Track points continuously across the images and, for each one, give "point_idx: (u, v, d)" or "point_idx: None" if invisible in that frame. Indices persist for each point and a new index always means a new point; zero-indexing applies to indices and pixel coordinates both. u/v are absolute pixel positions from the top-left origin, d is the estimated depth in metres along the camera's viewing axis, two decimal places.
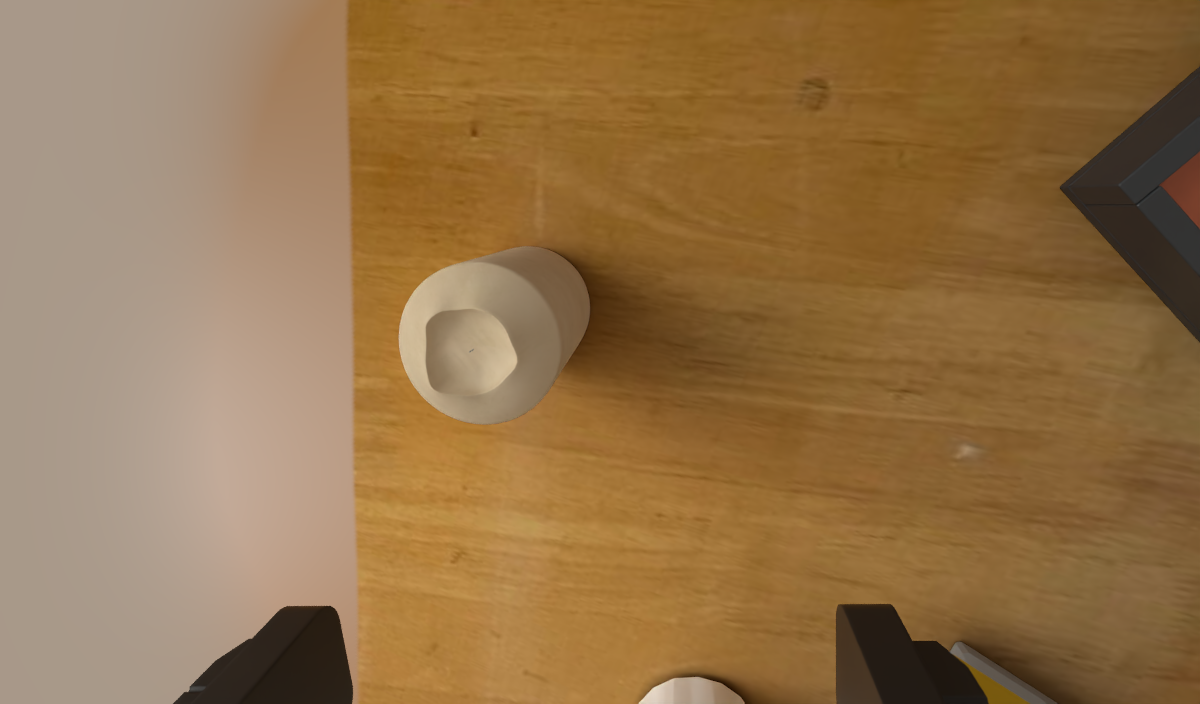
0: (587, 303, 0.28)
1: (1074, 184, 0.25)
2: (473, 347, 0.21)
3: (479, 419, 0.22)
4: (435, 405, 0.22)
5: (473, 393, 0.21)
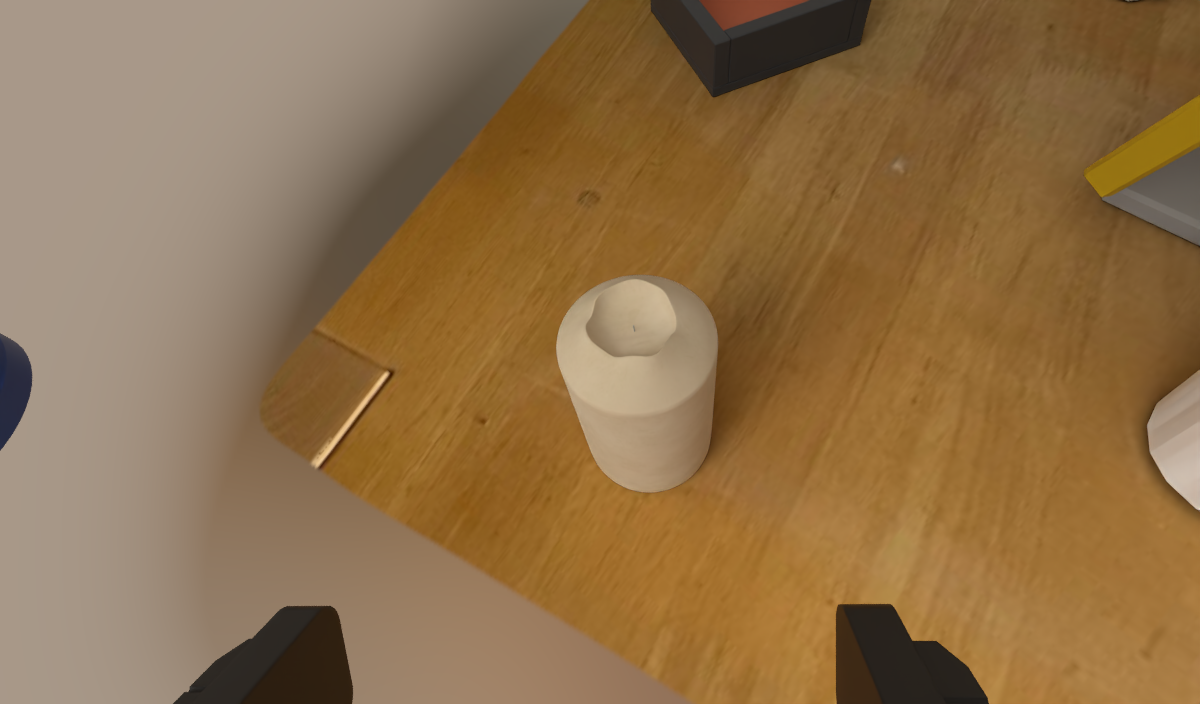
0: None
1: (712, 84, 0.39)
2: (632, 330, 0.21)
3: (704, 360, 0.21)
4: (675, 396, 0.20)
5: (671, 334, 0.21)
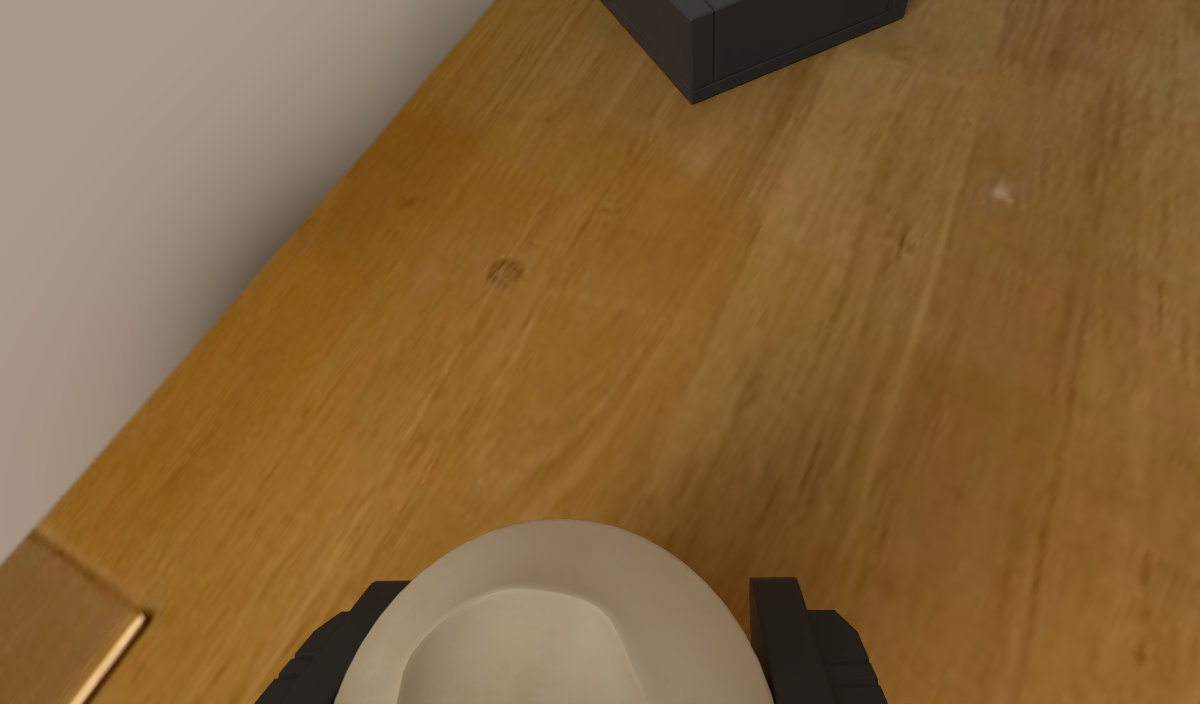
0: None
1: (690, 84, 0.25)
2: None
3: None
4: None
5: None
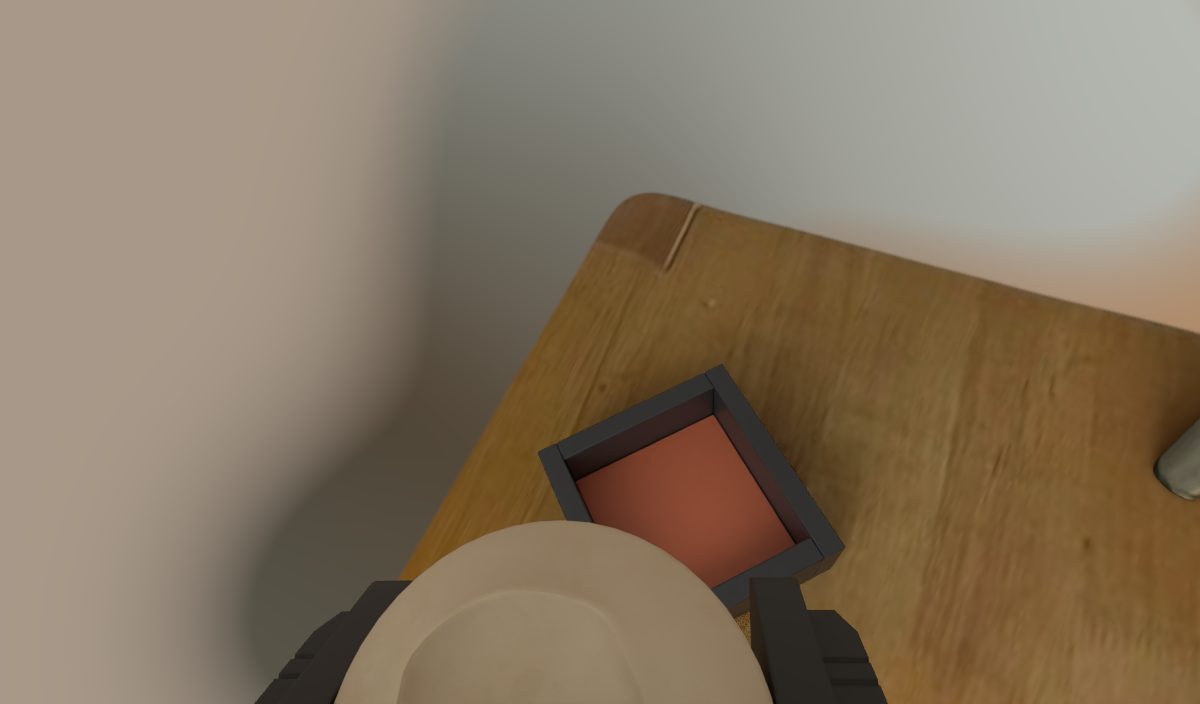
0: None
1: None
2: None
3: None
4: None
5: None
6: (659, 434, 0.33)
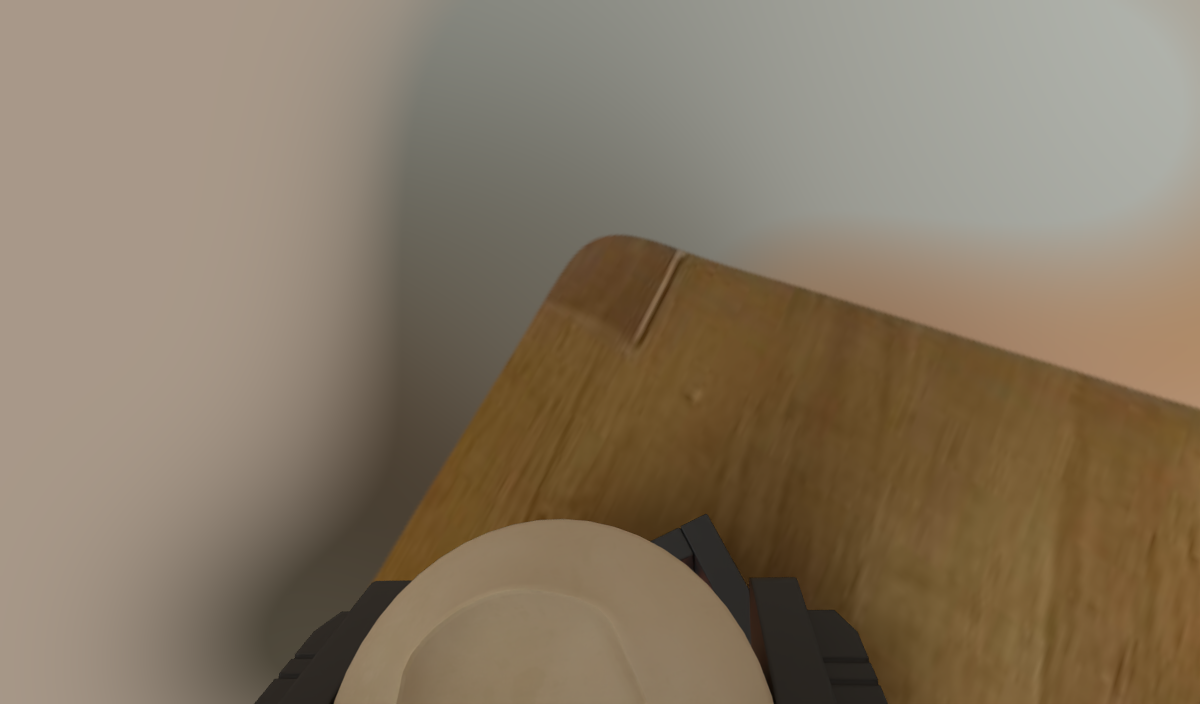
0: None
1: None
2: None
3: None
4: None
5: None
6: None
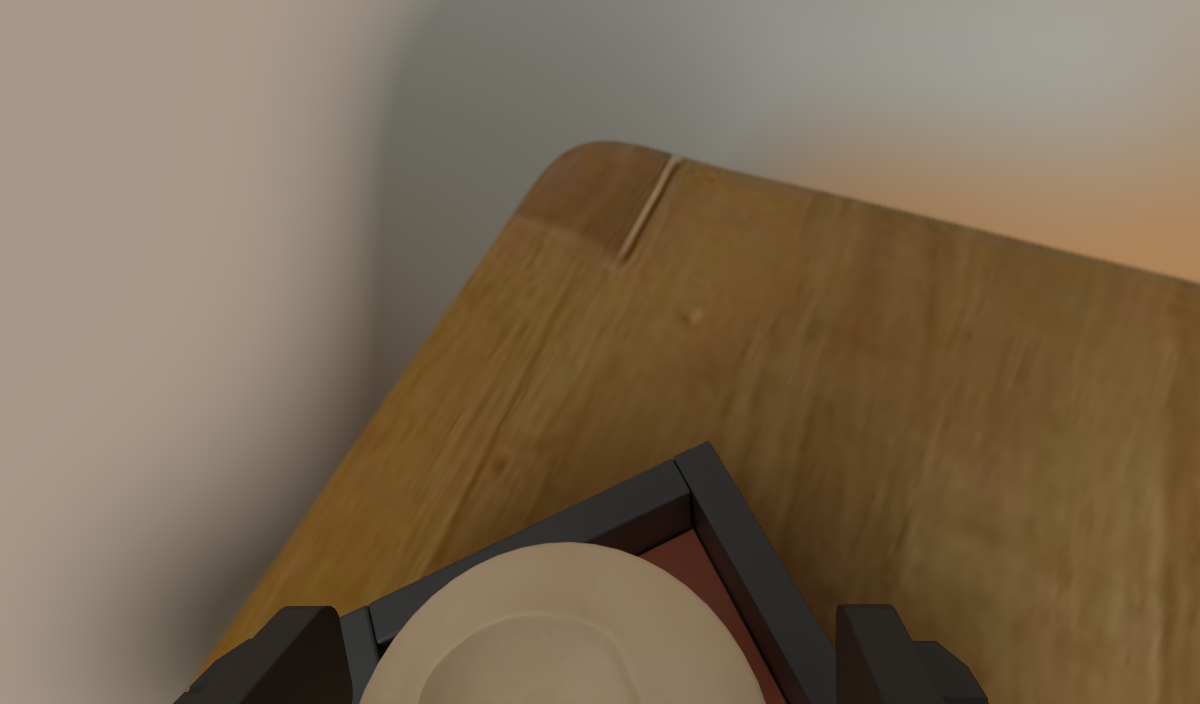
0: None
1: None
2: None
3: None
4: None
5: None
6: None
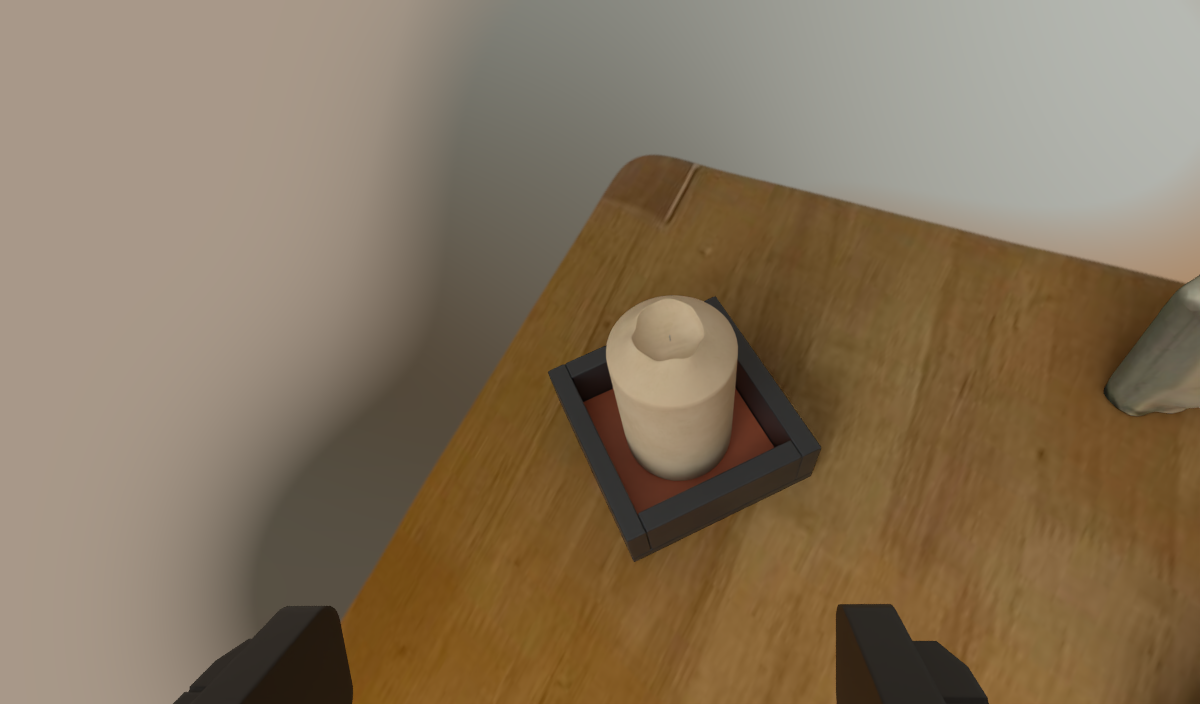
0: None
1: (631, 555, 0.31)
2: (668, 339, 0.27)
3: (728, 359, 0.26)
4: (707, 390, 0.26)
5: (701, 340, 0.26)
6: None
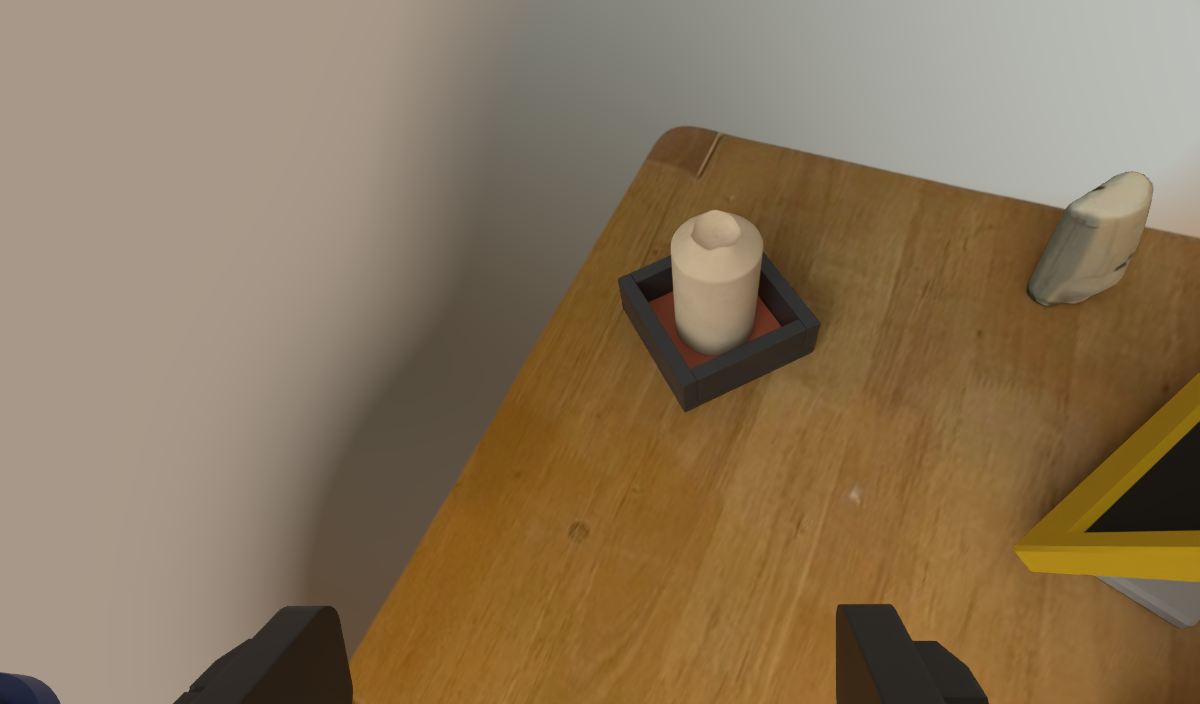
0: None
1: (683, 405, 0.43)
2: (715, 238, 0.38)
3: (757, 250, 0.38)
4: (743, 270, 0.37)
5: (738, 236, 0.38)
6: None
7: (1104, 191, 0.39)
